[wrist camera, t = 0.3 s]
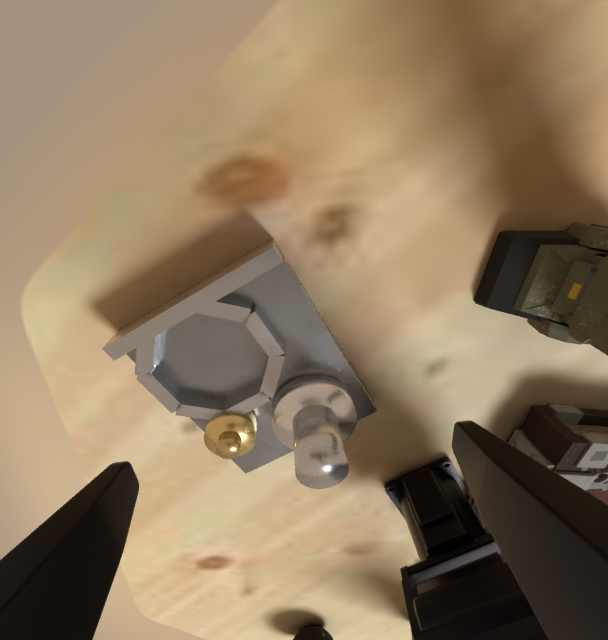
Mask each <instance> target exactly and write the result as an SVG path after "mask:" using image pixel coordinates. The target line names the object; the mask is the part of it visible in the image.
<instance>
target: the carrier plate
mask: <svg viewBox="0 0 608 640" xmlns="http://www.w3.org/2000/svg"><path fill="white" fill-rule="evenodd" d="M102 349H103V350H104V351H105V352H106V353H107V354H108V355H109V356H110V357H111V358H112V359H113V360H116V359H118V358H120V357H121V356H123V355H125V354H127V355H128V356H129V357H130V358H131V359H132V360H133V361H134V362H135V363H136V365H135V375H138V377H137V380H138V381H139V382H140V383H141V384H142V385H143V386H144V387H145V388H146V389H147V390H148V391H149V392H151V393H152V394H153V395H154V396H155V397H156V398H157V399H158V400H159V401H160V402H161V403H162V404H163V405H164V406H165V407H166V408H167V409H168V410H169V411H170V412H171V413H173V412H175V411H176V415H179V416H186V417H190V418H191V419H192V420H193V421H194V422H195V423H196V424H197V425H198V426H199V427H200V428H201V429H202V430H203V431H204V432H205V435H204V442H205V445H206V446H207V448H208V449H209V450H210V451H211V452H213V453H214V454H216V455H219V456H220V457H222V458H225V459H232V460H233V461H234V462H235V463H236V464H237V465H238V466H239V467H240V468H241V469H242V470H243V471H244V472H245V473H248V472H250V471H252V470H254V469H256V468H258V467H260V466H263V465H265V464H267V463H269V462H271V461H273V460H275V459H277V458H279V457H281V456H284V455H286V454H288V453H290V452H292V451H294V450H293V449H290V448H288V447H287V446H285V445H284V444H282V443H281V442H280V441H279V440H278V438H277V437H276V435H275V433H274V431H273V426H272V410H273V402H274V399H275V397H276V395H277V393H278V392H279V391H280V390H281V389H282V388H283V387H284V386H285V385H286V384H287V383H289V382H291V381H292V380H295V379H297V378H300V377H303V376H308V375H323V376H328V377H331V378H334V379H336V380H338V381H339V382H341V383H342V384H343V385H344V386H345V387H346V388H347V389H348V391H349V392H350V394H351V397H352V400H353V403H354V407H355V410H356V414H357V420H359V419H361V418H363V417H365V416H368V415H370V414H372V413H374V412H376V411H377V410H376V407H375V405H374V402H373V401H372V399H371V398H370V396H369V394H368V393H367V391H366V389H365V388H364V386H363V384H362V383H361V381H360V379H359V378H358V376H357V375H356V373H355V371H354V370H353V368H352V366H351V365H350V363H349V361H348V360H347V358H346V357H345V355H344V353H343V352H342V350H341V348H340V347H339V345H338V343H337V342H336V340H335V339H334V337H333V335H332V334H331V332H330V330H329V329H328V327H327V325H326V324H325V322H324V320H323V319H322V317H321V316H320V314H319V312H318V311H317V309H316V307H315V306H314V304H313V302H312V301H311V299H310V298H309V296H308V294H307V293H306V291H305V289H304V288H303V286H302V284H301V283H300V281H299V280H298V278H297V276H296V275H295V273H294V271H293V270H292V268H291V266H290V265H289V263H288V261H287V260H286V258H285V257H284V255H283V253H282V252H281V250H280V248H279V247H278V245H277V243H276V242H275V240H274V239H271V240H269V241H268V242H266V243H264V244H263V245H261V246H259V247H258V248H256V249H254V250H253V251H251V252H249V253H248V254H246V255H244V256H243V257H241V258H239V259H238V260H236V261H234V262H233V263H231V264H229V265H228V266H226V267H224V268H223V269H221V270H219V271H218V272H216V273H214V274H213V275H211V276H209V277H208V278H206V279H204V280H203V281H201V282H199V283H198V284H196V285H194V286H193V287H191V288H189V289H188V290H186V291H184V292H183V293H181V294H180V295H178V296H176V297H175V298H173V299H171V300H170V301H168V302H166V303H165V304H163V305H161V306H160V307H158V308H156V309H155V310H153V311H151V312H150V313H148V314H146V315H145V316H143V317H141V318H140V319H138V320H136V321H135V322H133V323H131V324H130V325H128V326H126V327H125V328H123V329H121V330H120V331H118V332H117V333H116V334H115V335H114V336H113V337H112V339H111V340H110V341H109V342H108V343H107V344H106V345H105V346H104V347H103V348H102Z"/></svg>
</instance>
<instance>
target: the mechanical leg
mask: <svg viewBox="0 0 608 640" xmlns="http://www.w3.org/2000/svg"><path fill="white" fill-rule="evenodd" d="M474 302H475V303H476V304H479V305H482V306H484V307H487V308H490V309H494V310H497V311H501V312H505V313H509V314H513V315H517V316H520V317H524V318H528V320H527V322H528V323H529V324H530V325H531V326H533V327H534V328H535V329H536V330H537V331H538V332H540V333H542V334H544V335H546V336H547V337H550V338H554V339H557V340H560V341H563V342H568V343H574V344H582V343H583V344H590V345H592V346H593V347H595V348H597V349H599V350H600V351H602V352H603V353H605V354H606V355H608V227H607V226H602V225H596V224H591V225H586V224H579V223H574V224H573V225H572V226H571V227H570V228H569V229H568V230H567V231H566V232H564V231H502V232H500V233H499V235H498V238H497V240H496V243H495V245H494V248H493V251H492V253H491V256H490V259H489V261H488V264H487V266H486V269H485V272H484V274H483V277H482V280H481V282H480V285H479V288H478V290H477V293H476V295H475V299H474Z"/></svg>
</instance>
